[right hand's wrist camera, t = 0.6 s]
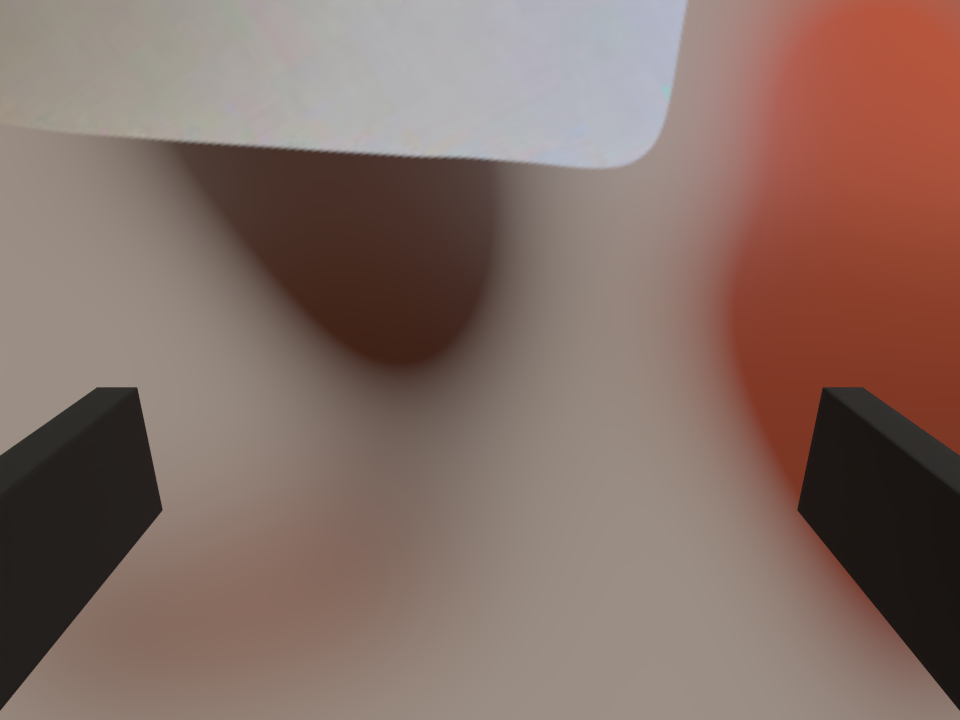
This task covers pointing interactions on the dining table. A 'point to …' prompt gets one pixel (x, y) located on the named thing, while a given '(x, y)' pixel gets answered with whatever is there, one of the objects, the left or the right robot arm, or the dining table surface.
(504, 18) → the dining table surface
